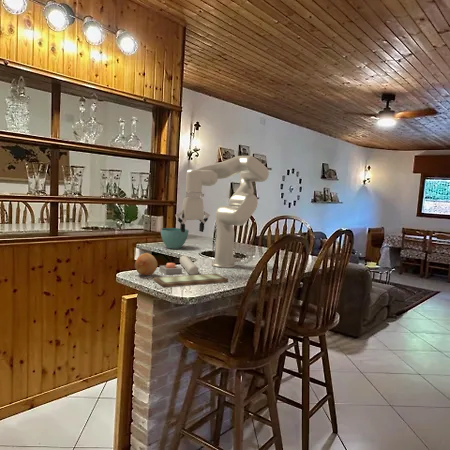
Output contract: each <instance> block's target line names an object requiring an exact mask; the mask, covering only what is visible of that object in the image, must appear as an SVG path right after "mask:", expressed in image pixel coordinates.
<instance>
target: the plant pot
mask: <svg viewBox="0 0 450 450" xmlns="http://www.w3.org/2000/svg"><path fill="white" fill-rule="evenodd" d="M160 235H161V240H162V242H163V244H164V246H166V248H167V249H169V248H172V249H171V250H179V248H180V249H181V248H183V245H185V243H186V241H187V239H188V236H189V229H186V228H185V232H181V230H180V228H179V227H178V228H177V227H176V228H175V227H165V228H161V229H160Z"/></svg>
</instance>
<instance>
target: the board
mask: <svg viewBox="0 0 450 450" xmlns="http://www.w3.org/2000/svg"><path fill="white" fill-rule="evenodd" d="M153 281H154V282H155V283H156V284H158V285H159V286H161V287H162V288H168V287H181V286H182V287H183V286H193V285H204V284H215V283H216V284H217V283H227V282H228V281H229V279H228V278H227V277H225V276H223V275H220V274H218V273H206V274H205V273H203V274H196V275H190V274H189V275H188V274H187V275H176V276H175V275H174V276H173V275H172V276H161V277H158V276H157V277H153Z"/></svg>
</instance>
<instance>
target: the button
mask: <svg viewBox="0 0 450 450" xmlns="http://www.w3.org/2000/svg"><path fill="white" fill-rule="evenodd" d="M175 265H176V263H175V262H167V263H166V268H175Z"/></svg>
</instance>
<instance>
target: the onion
mask: <svg viewBox="0 0 450 450" xmlns="http://www.w3.org/2000/svg"><path fill="white" fill-rule="evenodd" d="M134 262H135V263H134V269H135V270H136V272H137V273H138V274H139V275H142V276H150V275H151V276H152V275H153V274H154V273H155V272H156V270H157V268H158V261H157V259H156V257H155V256H154V255H152V254H151V253H148V252H144V253H142V254H140V255H139V256H138V257H137V258H136V259H135V261H134Z"/></svg>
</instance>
